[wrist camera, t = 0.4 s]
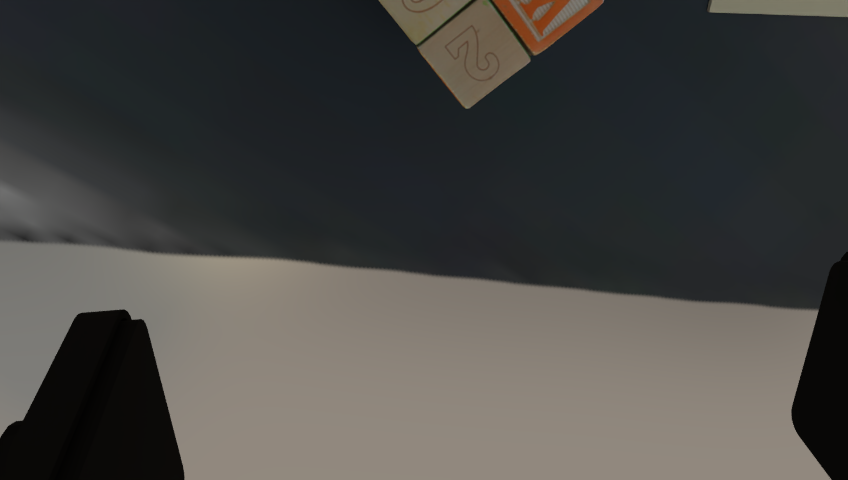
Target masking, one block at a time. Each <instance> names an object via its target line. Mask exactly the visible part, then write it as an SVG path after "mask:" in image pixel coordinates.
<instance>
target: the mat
mask: <svg viewBox="0 0 848 480" xmlns="http://www.w3.org/2000/svg"><path fill="white" fill-rule="evenodd" d="M707 11H708V12H717V13H746V14H776V15H805V16H835V17H848V0H709V3H708V8H707Z"/></svg>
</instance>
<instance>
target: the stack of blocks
mask: <svg viewBox="0 0 848 480" xmlns="http://www.w3.org/2000/svg"><path fill="white" fill-rule="evenodd" d="M378 1H379V2H380V3H381V4H382V5H383V6H384V8H385V9H386V10H387V11H388V12H389V14H390V15H391V16H392V17H393V19H394V20H395V21H396V22H397V24H398V25H399V26H400V27H401V29H402V30H403V31H404V32H405V34H406V35H407V36H408V37H409V39H410V40H411V41H412V42H413V43H414V44H416V46H417V49H418V50H419V52H420V54H421V55H422V56H423V57H424V59H425V60H426V61H427V62H428V64H429V65H430V66H431V67H432V69H433V70H434V71H435V72H436V74H437V75H438V76H439V77H440V79H441V80H442V81H443V82H444V84H445V85H446V86H447V87H448V89H449V90H450V91H451V92H452V94H453V95H454V96H455V97H456V99H457V100H458V101H459V102H460V104H461V105H462V106H463V107H464V108H466V109H468V108H470V107H472V106H473V105H474V104H475V103H477V102H478V101H479V100H480V99H482V98H483V97H484V96H486V95H487V94H488V93H490V92H491V91H492V90H493V89H495V88H496V87H497V86H499V85H500V84H501V83H503V82H504V81H505V80H507V79H508V78H509V77H510V76H512V75H513V74H515V73H516V72H517V71H519V70H520V69H521V68H523V67H524V66H525V65H527V64H528V63H529V62H530V58H531V55H537V54H539V53H541V52H542V51H544V50H545V49H546V48H548V47H549V46H550V45H551V44H553V43H554V42H555V41H556V40H558V39H559V38H560V37H562V36H563V35H564V34H565V33H567V32H568V31H569V30H571V29H572V28H573V27H574V26H576V25H577V24H578V23H579V22H581V21H582V20H583V19H584V18H586V17H587V16H588V15H589V14H591V13H592V12H593V11H594V10H596V9H597V8H598V7H599V6H600V5H601V4H602V3H603V2H604V0H378Z"/></svg>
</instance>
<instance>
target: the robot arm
mask: <svg viewBox="0 0 848 480" xmlns="http://www.w3.org/2000/svg"><path fill="white" fill-rule="evenodd" d="M792 421H793V425H794V428H795V430H796V432H797V434H798V435H799V437H800V438H801V439H802V441H803V442H804V443H805V445H806V446H807V447H808V449H809V450H810V451H811V453H812V454H813V455H814V457H815V458H816V459H817V461H818V462H819V463H820V465H821V466H822V467H823V469H824V470H825V471H826V473H827V474H828V475H829V477H830V478H831V479H832V480H848V252H846V253H845V254H844V256H843V257H842V258H841V261H839V262H836V263H835V264H834V265H833V266H832V267H831V270H830V272H829V276H828V279H827V283H826V287H825V290H824V294H823V297H822V301H821V305H820V308H819V312H818V315H817V319H816V323H815V326H814V330H813V333H812V337H811V341H810V344H809V348H808V352H807V355H806V358H805V362H804V366H803V369H802V373H801V376H800V380H799V384H798V387H797V391H796V394H795V398H794V402H793V405H792ZM0 480H184V470H183V465H182V461H181V457H180V453H179V449H178V445H177V442H176V438H175V434H174V430H173V426H172V422H171V418H170V414H169V410H168V407H167V403H166V399H165V395H164V391H163V387H162V383H161V380H160V376H159V372H158V368H157V365H156V360H155V356H154V352H153V348H152V345H151V341H150V337H149V333H148V329H147V326H146V324H145V322H144V320H142V319H139V320H132V319H131V316H130V315H129V313H128V312H127V311H126V310H111V311H99V312H87V313H80V314H78V315H77V316H76V317H75V319H74V321H73V323H72V325H71V327H70V329H69V331H68V333H67V335H66V337H65V339H64V341H63V342H62V344H61V347H60V349H59V350H58V352H57V354H56V356H55V359H54V361H53V362H52V364H51V366H50V368H49V371H48V373H47V374H46V376H45V378H44V380H43V382H42V384H41V386H40V388H39V390H38V392H37V394H36V396H35V398H34V400H33V402H32V404H31V406H30V408H29V410H28V412H27V414H26V416H25V418H24V420H23V421H16V422H14V423H12V424H11V425H9V426H8V427H7V429H6V430H5V432H4V433H3V434H2V436H1V438H0Z"/></svg>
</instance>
